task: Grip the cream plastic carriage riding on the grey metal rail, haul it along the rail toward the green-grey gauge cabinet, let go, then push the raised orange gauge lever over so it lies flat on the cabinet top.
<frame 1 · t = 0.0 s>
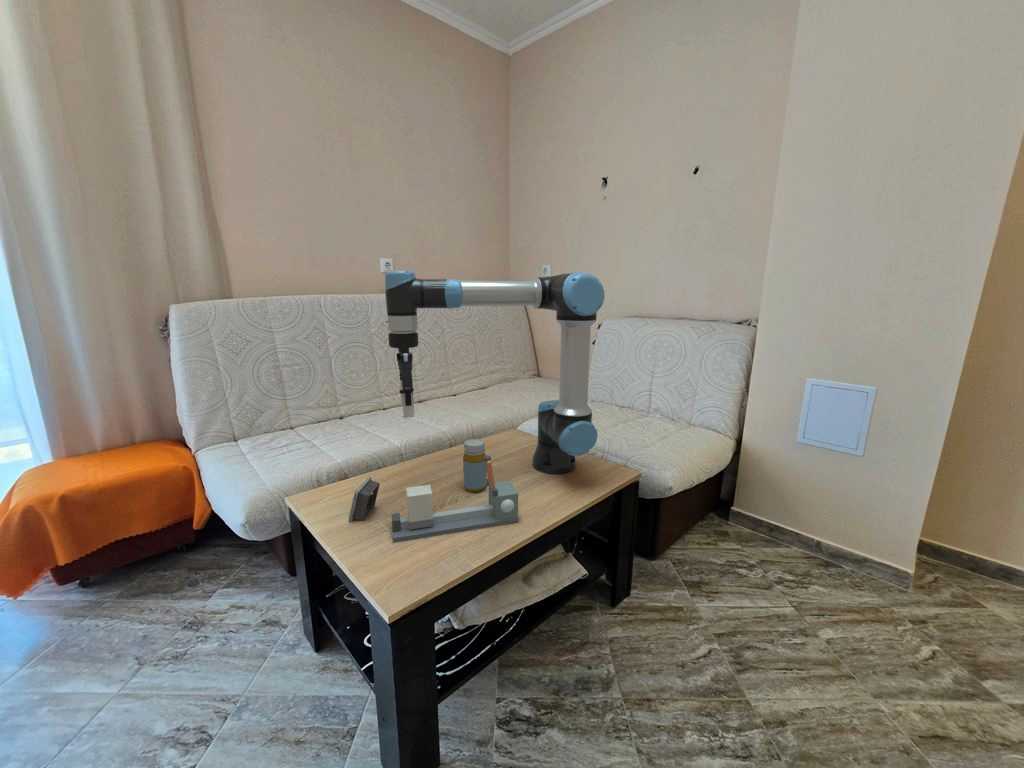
hand: (407, 410, 114), 28 cm above the table, fingers open, 13 cm apart
electrical switch: (365, 513, 115), on the table
bottle: (475, 488, 129), on the table
carriage: (419, 506, 106), point 6 cm above the table, slide at 0.0 cm
rail bench: (455, 522, 110), on the table
gauge lever: (489, 471, 110), point 13 cm above the table, hinge at -8.0°
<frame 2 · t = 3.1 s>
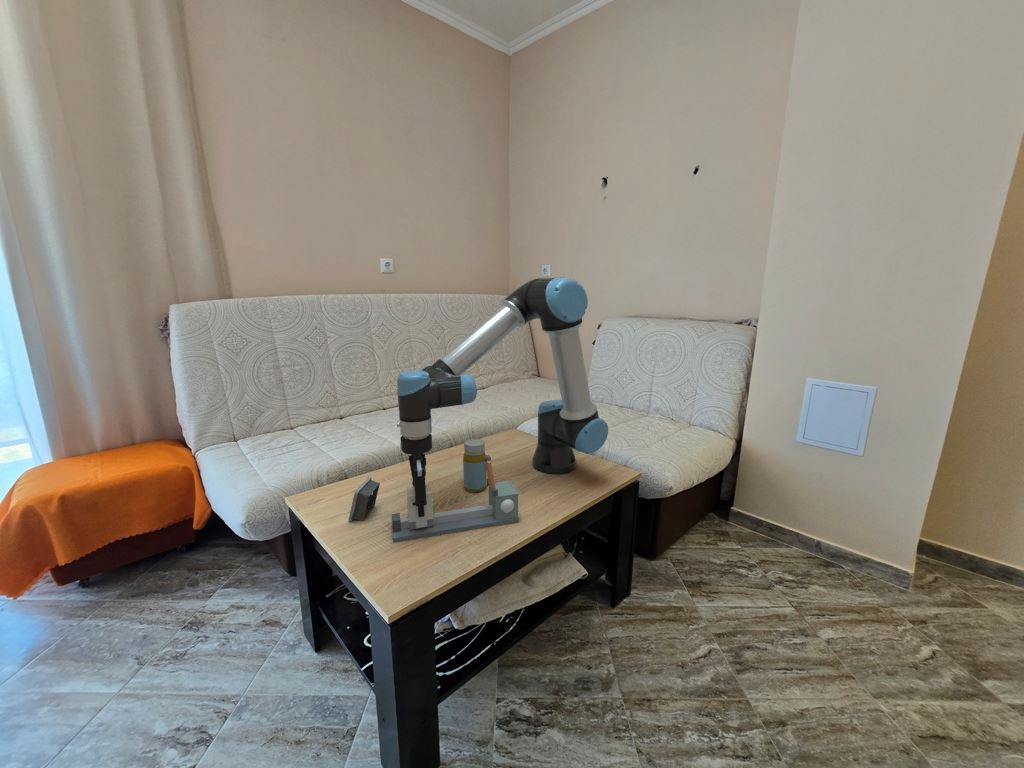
hand: (420, 520, 107), 2 cm above the table, fingers closed on carriage, 5 cm apart
carriage: (419, 506, 106), point 6 cm above the table, slide at 0.0 cm, touching gripper
everything else where it was.
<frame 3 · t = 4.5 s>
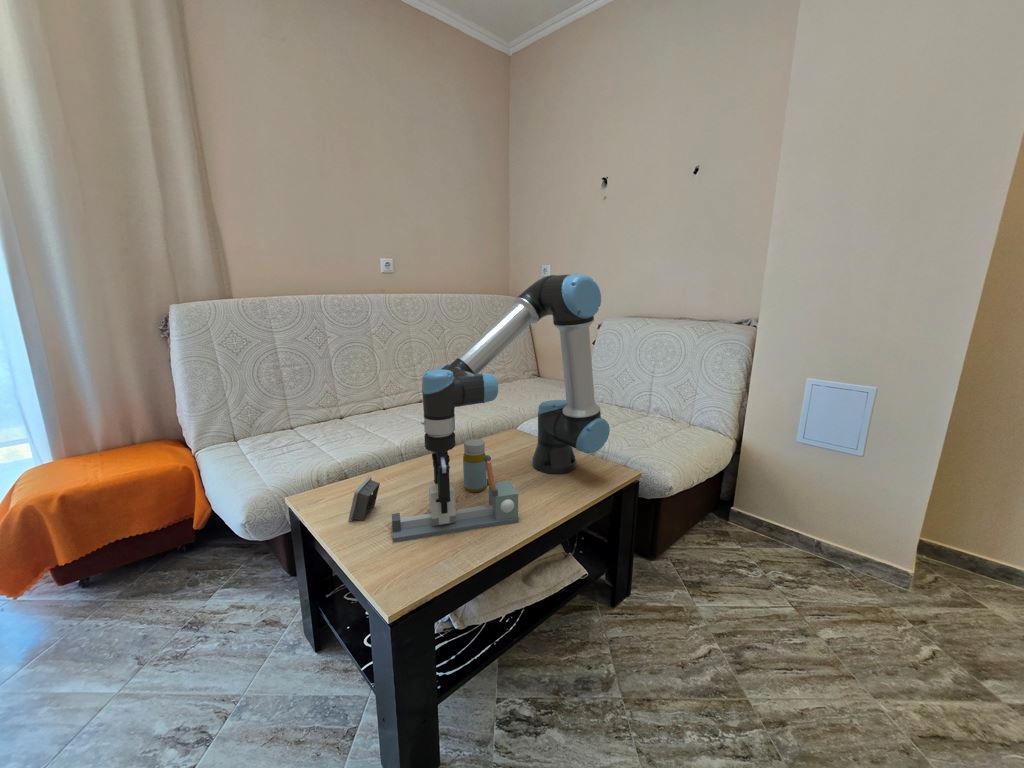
hand: (442, 517, 109), 2 cm above the table, fingers closed on carriage, 5 cm apart
carriage: (442, 503, 108), point 6 cm above the table, slide at 5.7 cm, touching gripper
everything else where it was.
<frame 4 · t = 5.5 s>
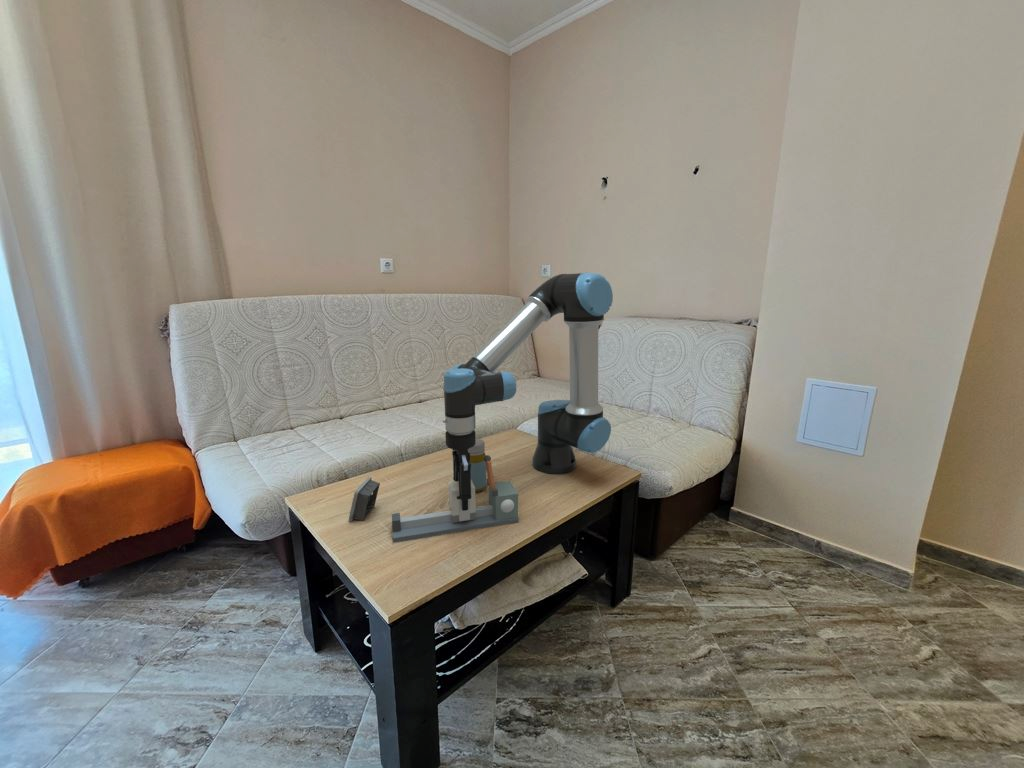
hand: (462, 513, 110), 2 cm above the table, fingers closed on carriage, 5 cm apart
carriage: (462, 500, 109), point 6 cm above the table, slide at 10.9 cm, touching gripper
everything else where it was.
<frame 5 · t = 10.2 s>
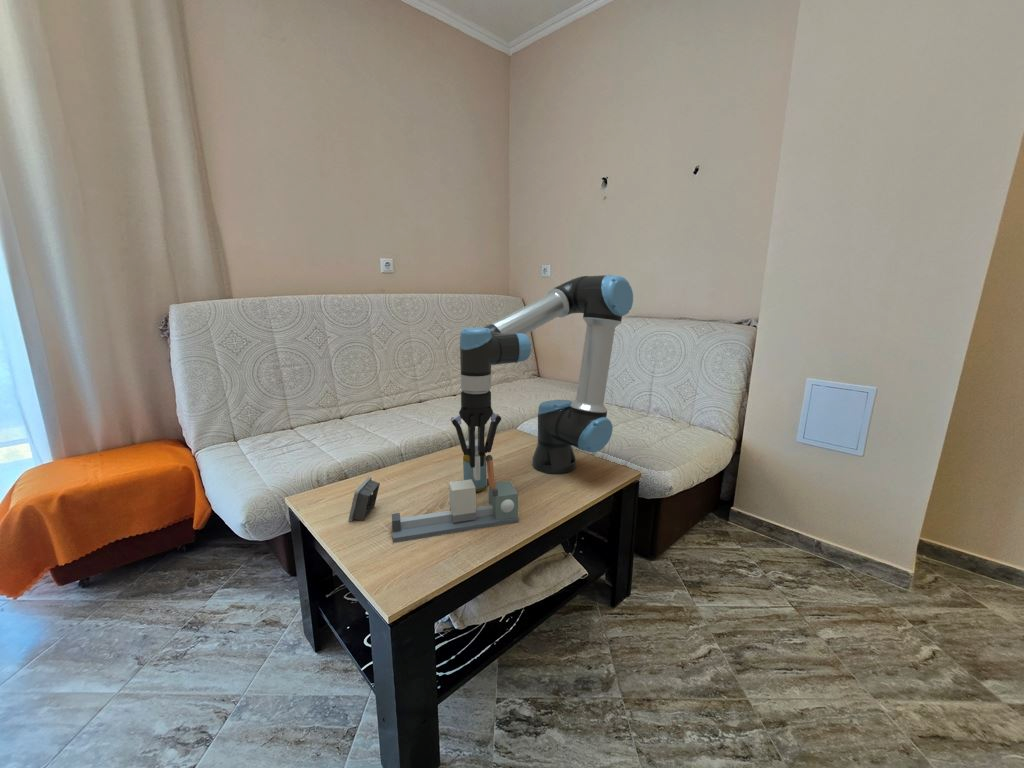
hand: (476, 477, 109), 12 cm above the table, fingers closed
carriage: (462, 500, 109), point 6 cm above the table, slide at 11.0 cm
gauge lever: (490, 471, 110), point 13 cm above the table, hinge at -4.8°, touching gripper
everything else where it was.
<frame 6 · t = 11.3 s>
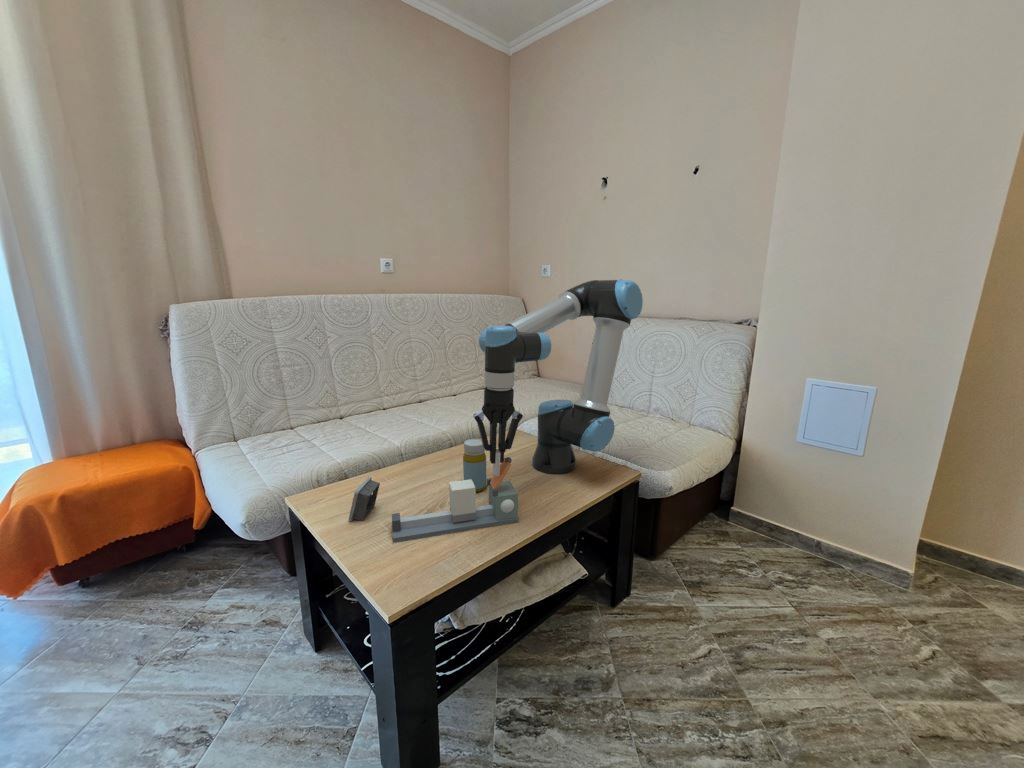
hand: (496, 473, 111), 12 cm above the table, fingers closed
gauge lever: (501, 472, 111), point 13 cm above the table, hinge at 31.3°, touching gripper
everything else where it was.
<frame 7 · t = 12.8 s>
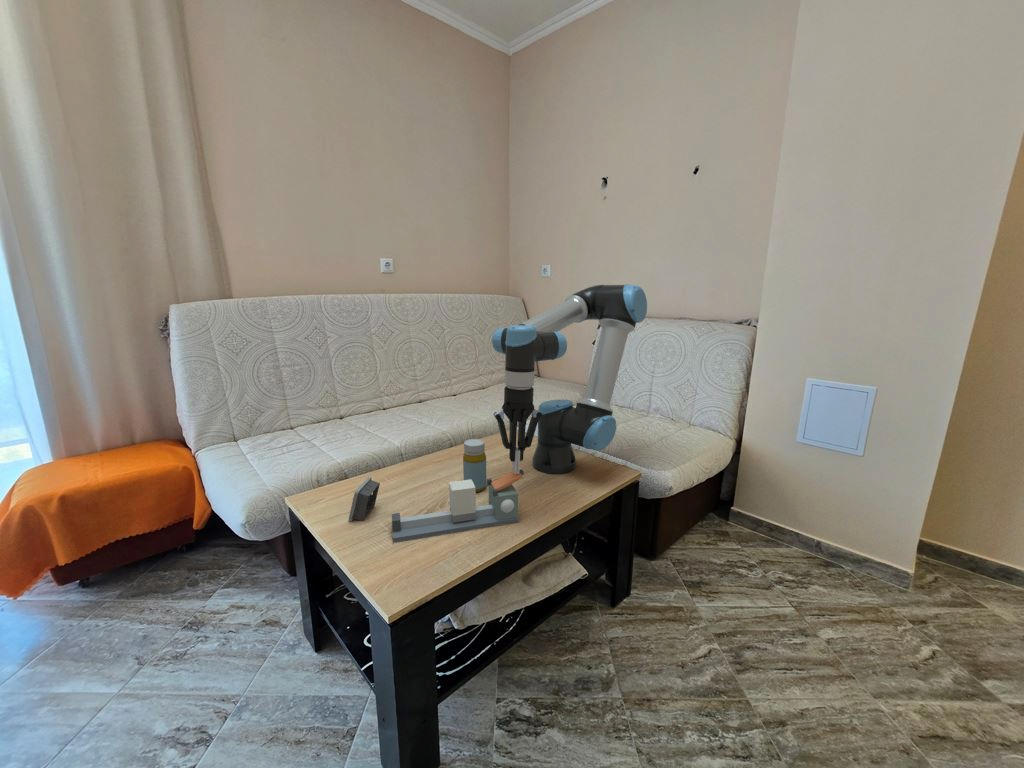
hand: (515, 471, 112), 12 cm above the table, fingers closed
gauge lever: (508, 479, 112), point 10 cm above the table, hinge at 67.1°, touching gripper
everything else where it was.
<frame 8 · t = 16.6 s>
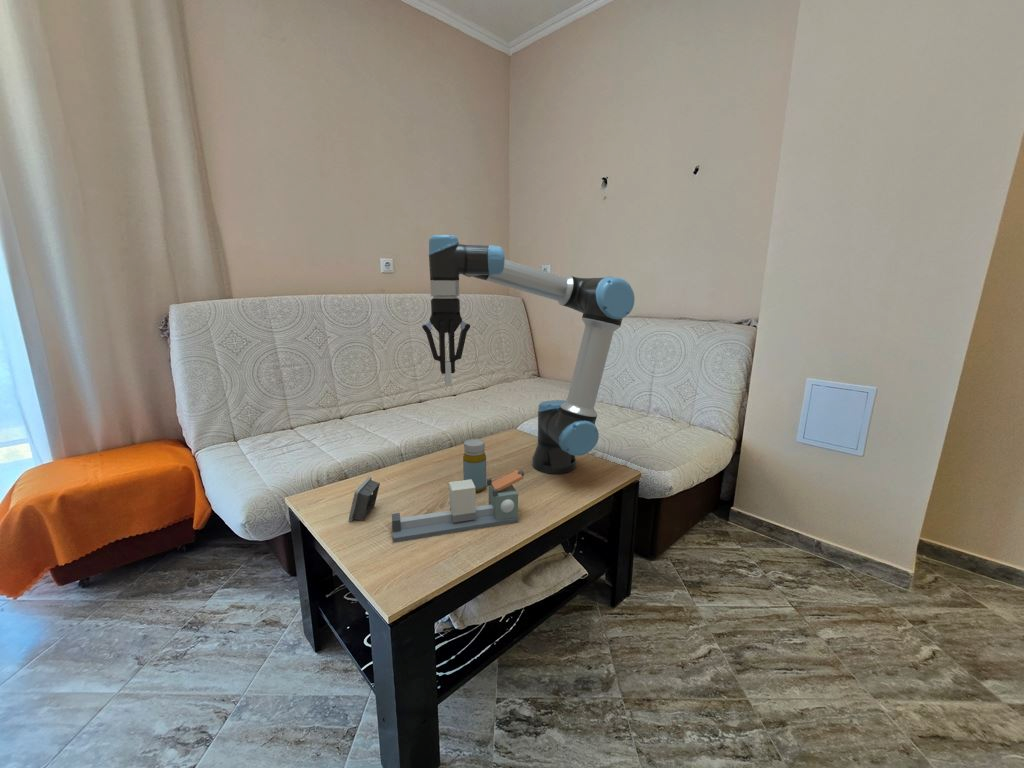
hand: (448, 384, 115), 34 cm above the table, fingers closed
gauge lever: (508, 479, 112), point 10 cm above the table, hinge at 69.1°
everything else where it was.
at the end: carriage slide at 11.0 cm; gauge lever at +69° (first picture: -8°); the gripper is holding nothing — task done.
